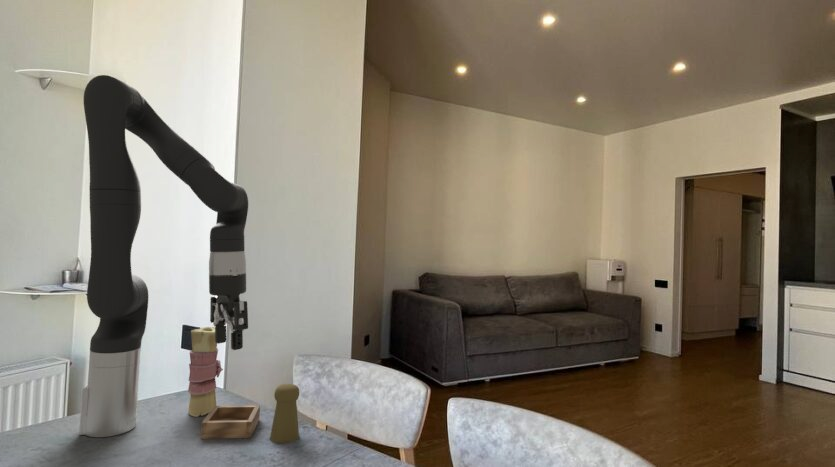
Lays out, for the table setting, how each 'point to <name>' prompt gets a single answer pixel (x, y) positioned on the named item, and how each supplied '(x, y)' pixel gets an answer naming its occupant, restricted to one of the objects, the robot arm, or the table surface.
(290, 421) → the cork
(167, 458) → the table surface
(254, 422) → the wooden tray
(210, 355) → the scroll
